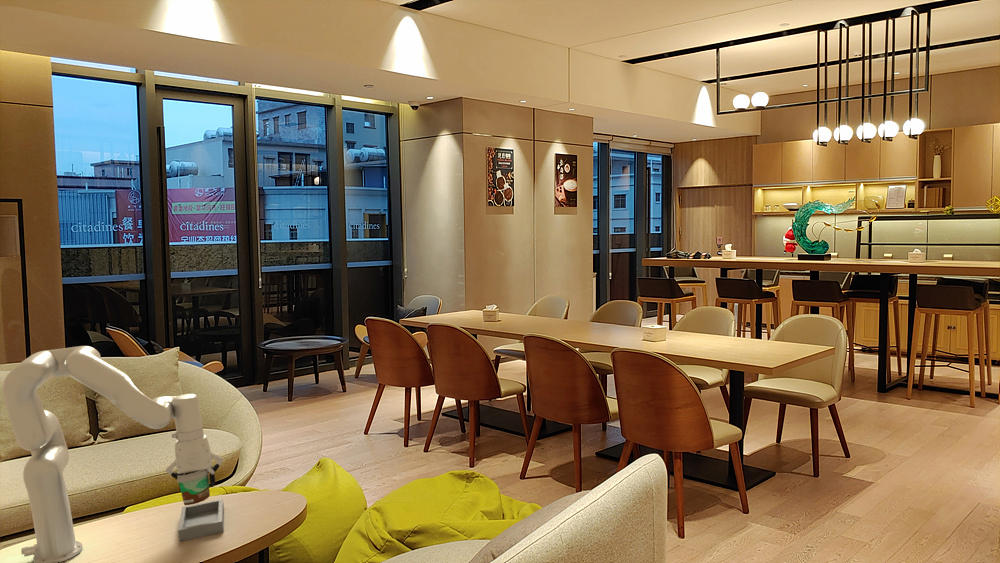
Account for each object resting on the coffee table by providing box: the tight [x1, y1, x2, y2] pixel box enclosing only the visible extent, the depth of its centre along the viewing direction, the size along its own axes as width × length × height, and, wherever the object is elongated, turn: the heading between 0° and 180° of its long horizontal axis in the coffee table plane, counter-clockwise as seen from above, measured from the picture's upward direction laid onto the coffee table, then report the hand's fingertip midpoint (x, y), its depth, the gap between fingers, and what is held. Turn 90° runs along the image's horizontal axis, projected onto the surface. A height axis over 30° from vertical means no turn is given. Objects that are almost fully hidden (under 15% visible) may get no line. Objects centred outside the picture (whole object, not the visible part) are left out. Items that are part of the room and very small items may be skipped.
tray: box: [177, 498, 225, 543], centre depth 231 cm, size 12×18×4 cm
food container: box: [176, 469, 211, 506], centre depth 230 cm, size 12×6×10 cm, turn 170°
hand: (198, 488), depth 230 cm, fingers closed on food container, 7 cm apart
